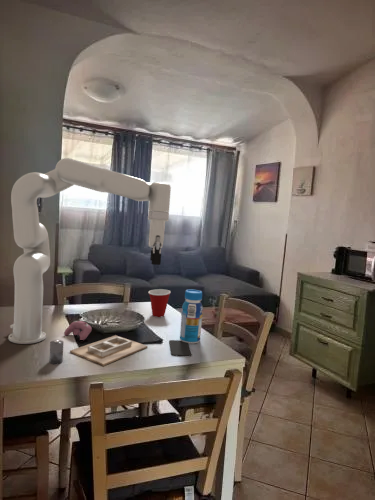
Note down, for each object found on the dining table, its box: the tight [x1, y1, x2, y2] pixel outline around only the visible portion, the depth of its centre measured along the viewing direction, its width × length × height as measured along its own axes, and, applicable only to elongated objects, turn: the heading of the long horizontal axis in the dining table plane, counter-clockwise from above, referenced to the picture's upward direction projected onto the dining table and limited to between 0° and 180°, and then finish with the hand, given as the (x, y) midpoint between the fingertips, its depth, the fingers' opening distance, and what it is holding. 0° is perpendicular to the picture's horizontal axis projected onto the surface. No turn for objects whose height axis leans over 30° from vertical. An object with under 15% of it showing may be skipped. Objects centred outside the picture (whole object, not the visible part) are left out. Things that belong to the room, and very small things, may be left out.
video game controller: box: [63, 320, 93, 341], centre depth 142 cm, size 10×5×7 cm, turn 60°
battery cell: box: [48, 339, 64, 365], centre depth 118 cm, size 4×4×7 cm
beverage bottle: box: [179, 288, 204, 344], centre depth 147 cm, size 8×8×20 cm
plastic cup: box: [148, 288, 171, 318], centre depth 179 cm, size 11×11×12 cm
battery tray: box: [69, 334, 148, 367], centre depth 132 cm, size 16×22×2 cm
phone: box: [168, 339, 193, 357], centre depth 139 cm, size 7×1×15 cm
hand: (155, 262), depth 139 cm, fingers open, 9 cm apart
